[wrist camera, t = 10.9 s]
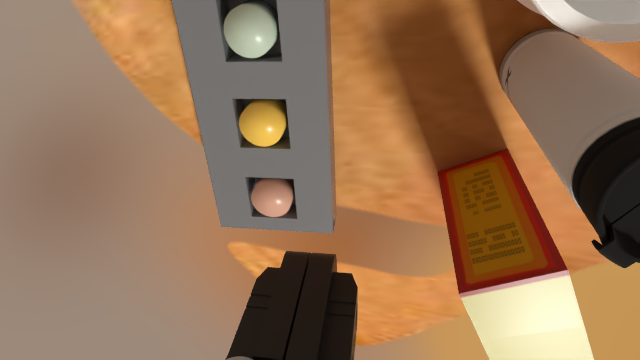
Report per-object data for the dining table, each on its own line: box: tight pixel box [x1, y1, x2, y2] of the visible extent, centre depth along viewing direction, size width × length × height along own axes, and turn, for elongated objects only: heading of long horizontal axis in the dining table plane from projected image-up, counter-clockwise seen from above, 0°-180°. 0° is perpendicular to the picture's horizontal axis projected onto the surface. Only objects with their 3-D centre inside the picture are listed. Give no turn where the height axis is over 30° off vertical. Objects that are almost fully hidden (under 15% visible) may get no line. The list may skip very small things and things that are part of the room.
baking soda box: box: [438, 149, 594, 360], centre depth 34 cm, size 10×6×16 cm
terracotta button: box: [251, 178, 295, 217], centre depth 42 cm, size 4×4×3 cm
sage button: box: [224, 0, 280, 58], centre depth 33 cm, size 4×4×3 cm
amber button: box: [239, 99, 288, 147], centre depth 38 cm, size 4×4×3 cm
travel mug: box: [499, 29, 640, 268], centre depth 25 cm, size 6×7×20 cm
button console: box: [172, 0, 336, 233], centre depth 38 cm, size 24×12×3 cm, turn 3°
